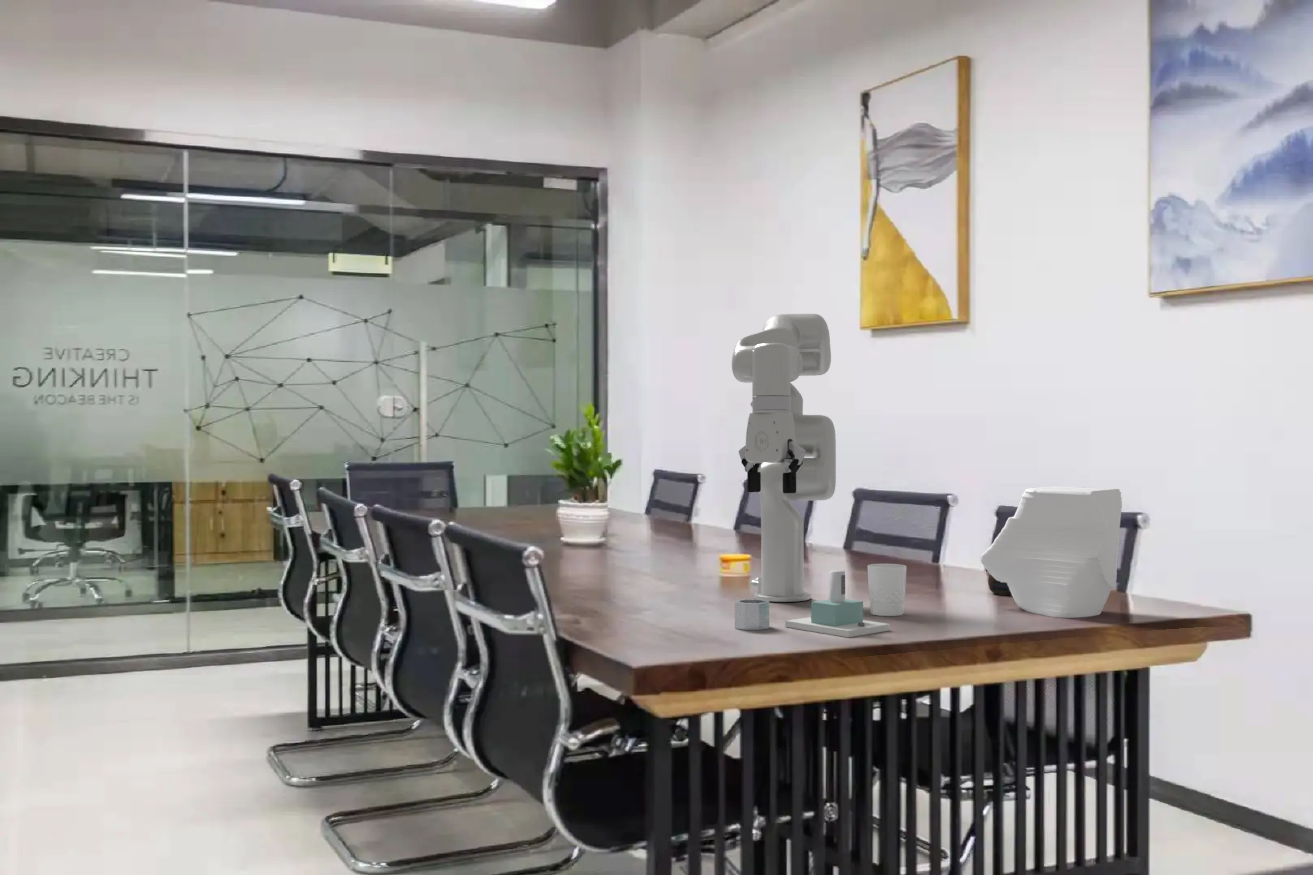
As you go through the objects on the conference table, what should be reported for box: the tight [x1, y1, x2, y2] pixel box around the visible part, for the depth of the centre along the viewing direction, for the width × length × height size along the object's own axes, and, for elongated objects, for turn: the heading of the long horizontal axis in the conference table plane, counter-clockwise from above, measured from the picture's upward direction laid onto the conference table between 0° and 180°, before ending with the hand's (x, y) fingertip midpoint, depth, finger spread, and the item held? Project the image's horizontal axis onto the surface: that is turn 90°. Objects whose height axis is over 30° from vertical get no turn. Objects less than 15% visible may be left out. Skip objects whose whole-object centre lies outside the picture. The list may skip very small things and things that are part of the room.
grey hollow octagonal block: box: [734, 598, 770, 631], centre depth 247 cm, size 7×7×5 cm
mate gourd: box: [987, 573, 1012, 596], centre depth 293 cm, size 7×8×10 cm
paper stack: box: [979, 485, 1123, 619], centre depth 269 cm, size 21×27×26 cm
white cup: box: [867, 563, 907, 617], centre depth 263 cm, size 8×8×10 cm
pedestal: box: [784, 569, 891, 638], centre depth 245 cm, size 16×12×11 cm
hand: (771, 492), depth 252 cm, fingers open, 9 cm apart
